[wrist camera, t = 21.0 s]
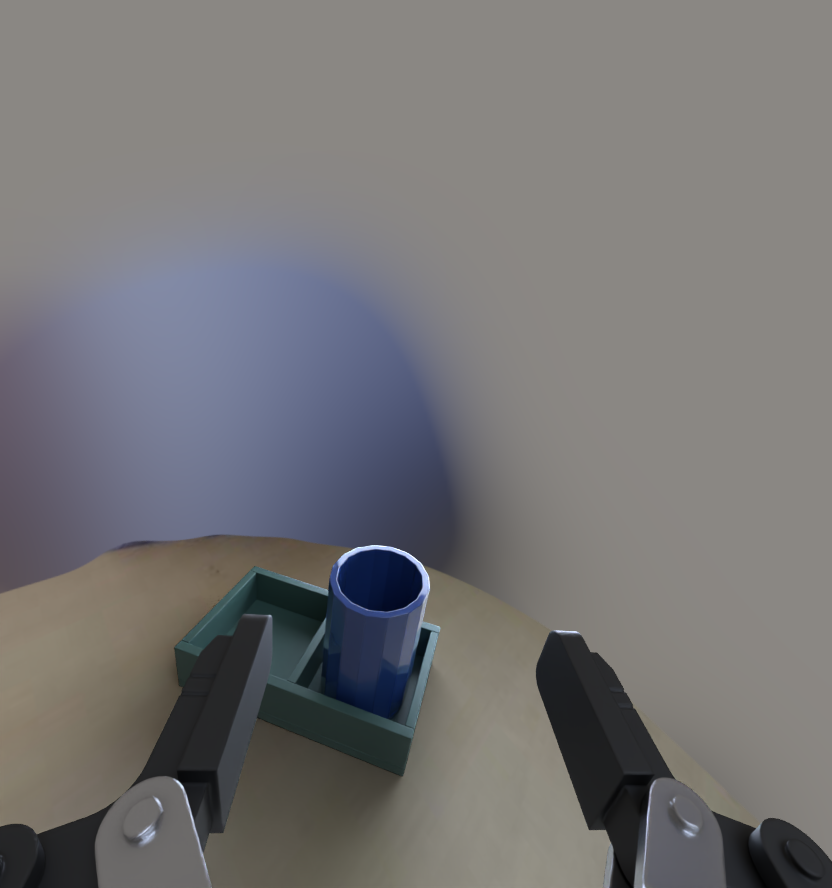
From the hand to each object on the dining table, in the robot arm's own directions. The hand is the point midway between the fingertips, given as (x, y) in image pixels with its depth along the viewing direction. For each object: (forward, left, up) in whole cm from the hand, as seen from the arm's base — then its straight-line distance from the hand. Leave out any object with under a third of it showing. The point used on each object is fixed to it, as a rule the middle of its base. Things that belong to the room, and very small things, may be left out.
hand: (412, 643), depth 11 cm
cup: (-4, -10, -18) cm, 21 cm away
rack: (-1, -13, -19) cm, 23 cm away
